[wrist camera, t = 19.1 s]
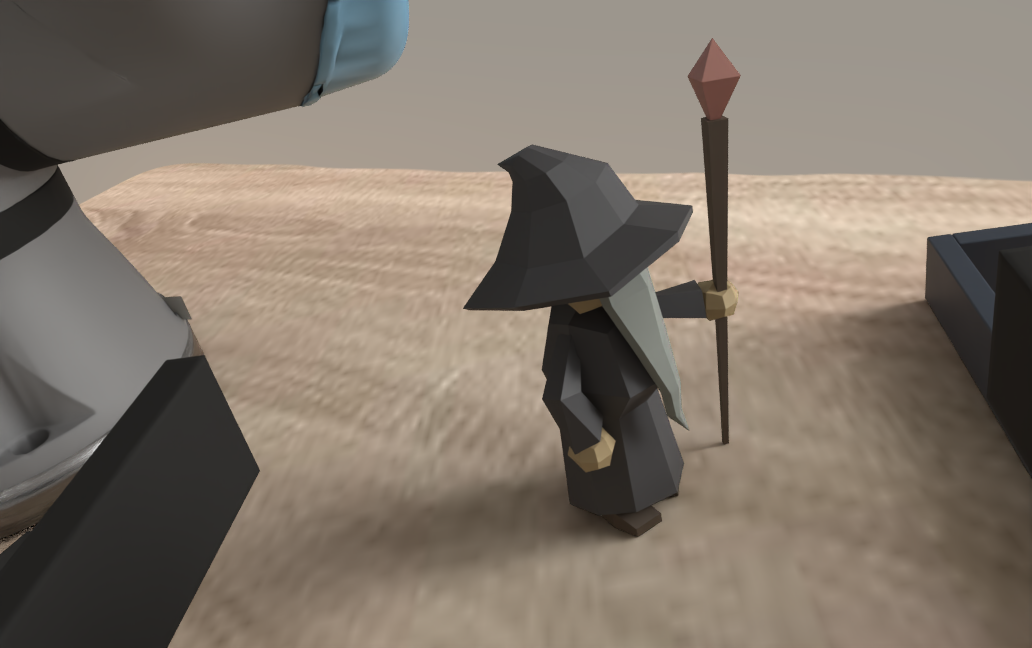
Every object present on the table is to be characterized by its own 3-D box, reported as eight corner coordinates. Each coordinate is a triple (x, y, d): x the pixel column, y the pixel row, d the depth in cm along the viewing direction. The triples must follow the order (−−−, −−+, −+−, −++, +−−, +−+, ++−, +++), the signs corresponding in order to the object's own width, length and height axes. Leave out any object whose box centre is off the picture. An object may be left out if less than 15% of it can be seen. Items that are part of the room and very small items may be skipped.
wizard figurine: (671, 601, 22) (594, 165, 16) (498, 538, 25) (379, 155, 19) (785, 410, 27) (760, 28, 21) (630, 378, 30) (570, 39, 24)
